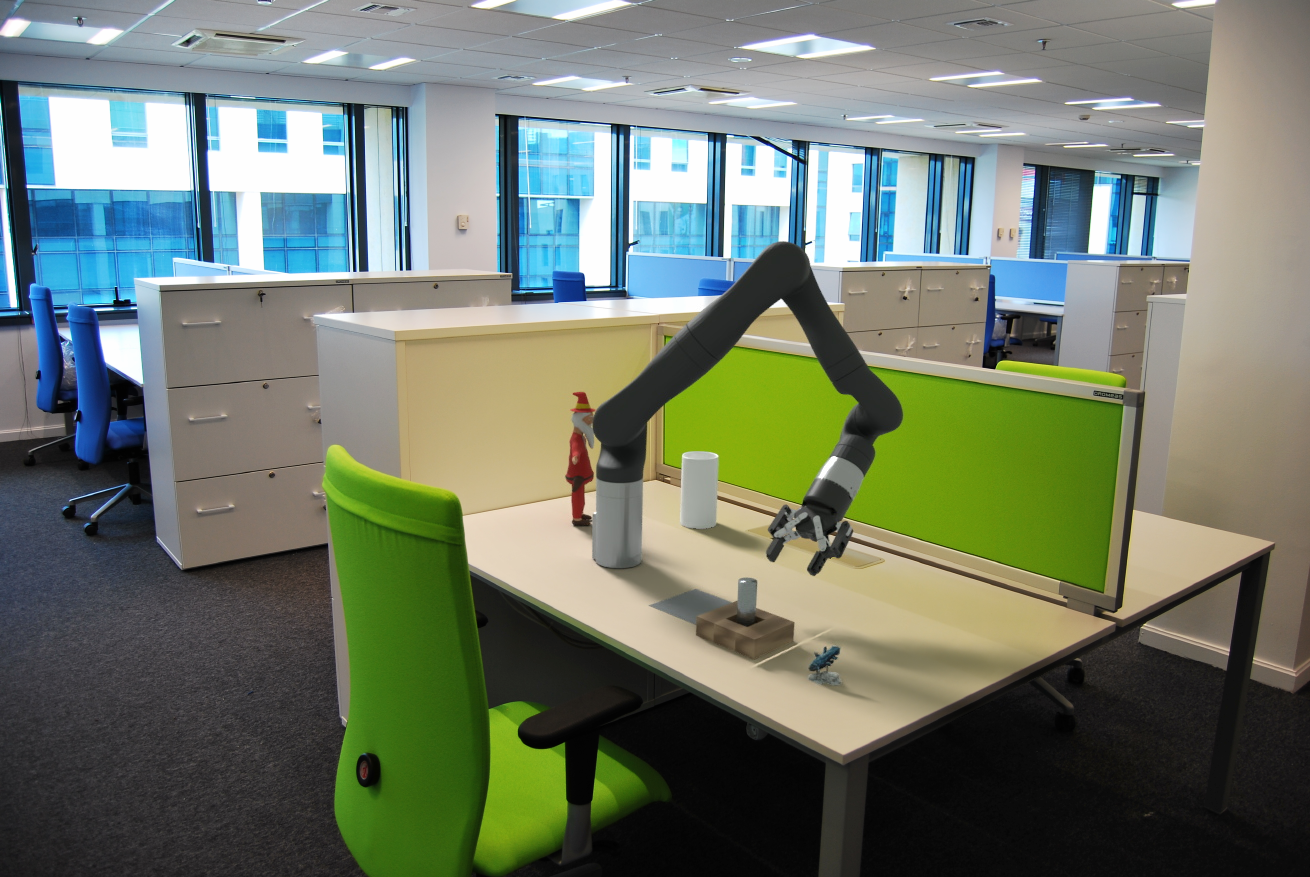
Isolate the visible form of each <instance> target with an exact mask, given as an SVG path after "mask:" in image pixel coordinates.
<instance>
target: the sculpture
mask: <svg viewBox="0 0 1310 877" xmlns="http://www.w3.org/2000/svg"><path fill="white" fill-rule="evenodd" d="M840 654H841V647H840V646H838V645H836V644H833V645H832V646H831V647H830V648H828V647H827V645H825V646H824V647H823V649H822V653H821V654H820V653H819V652H817V651H814V652H813V655H814V657H815V658H814V659H813V660H812V662H811V663H810V664H809V666H808V670H809V672H812V673H811V674H809V675H807V677H808V678H807V680H808V681H811V682H813V683H814V684H816V685H819V686H820V685H823V684H828V685H830V686H841V684H842V678H840V674H839V673H838V672H836V671H829V667H832V665H833V664H834V662H835V661H837V660H838V659H839V657H838V656H839V655H840ZM822 669H826V670H823V671H821V672H820V670H822ZM813 672H815V673H813Z"/></svg>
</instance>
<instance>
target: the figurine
mask: <svg viewBox="0 0 1310 877" xmlns="http://www.w3.org/2000/svg"><path fill="white" fill-rule="evenodd" d="M572 395H573V396H575V397H577V400H576V401H577V402H576V405H575V407H574V408H571V409H570V411H571V412H573V413H572V415H571V419H570V421H571V422H572V424H573V430H572V433H571V437H570V439H569V455H568V466H567V469H566V470H567V471H566V473H565V475H564V478H565V480H566V483H568V484H569V485H571V494H570V495H571V514H572V516H571V517H572V521H571V524H572V525H573V526H590V525H591V521H590V520H593V516H591V515H589V514H585V513H584V509H585V506H586V496H585V492H586V491H585V490H586V489H585V488H586V487H585V486H586V485H587V484H589V483H590V482H591V483H592V482H593V480H594V478H595V475H594V474H595V473H594V470H593V468H592V464H591V460H590V456H589V452H588V448H587V444H588V447H589V448H590V449H591V450H593V449H594V446H595V435H594V432H593V427H592V422H593V417H594V413H595V412H596V410H597V409H595V408H592V407H591V406H590V402H589V399H588V396H587V394H586V392H585V391H576V392H572Z"/></svg>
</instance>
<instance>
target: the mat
mask: <svg viewBox="0 0 1310 877" xmlns="http://www.w3.org/2000/svg"><path fill="white" fill-rule="evenodd" d="M732 602H733V601H730V600H727V599H725V598H722V597H718V596H715V594H710V593H708V592H706V591H702V590H700V589H698V588H694V589H691V590H688V591H686V592H683V593H680V594H677V595H675V596H671V597H669V598H666V599H663V600H660V601H656V602H654V603H652V604H649V605H648V607H652V608H654V609H656V610H658V611H661V612H664V613H666V614H668V615H672V616H673V617H676V618H678V619H680V620H683V621H685V622H688V623H689V624H690V623H691V624H693V625H695V626H696V621H697V616H699V615H701V614H704V613H706V612H709V611H712V610H714V609H717V608H719V607H722V606H725V605H727V604H730V603H732Z"/></svg>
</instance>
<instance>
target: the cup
mask: <svg viewBox="0 0 1310 877" xmlns="http://www.w3.org/2000/svg"><path fill="white" fill-rule="evenodd" d="M681 454H682V456H681V477H680V479H681V482H680V483H681V484H680V510H679V512H680V514H679V515H680V516H679V524H680V525H681V526H682V527H684V526H685V528H688V529H693V528H696V529H695V530H706V528H707V529H711V527H712V528H713V527H716V526H717V515H718V514H717V513H718V512H717V510H718V509H717V508H718V488H719V487H718V486H719V483H718V481H719V456H720V455H718V454H717V453H715V452H710V451H701V450H700V451H699V450H698V451H695V450H693V451H687V452H684V453H681Z"/></svg>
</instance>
